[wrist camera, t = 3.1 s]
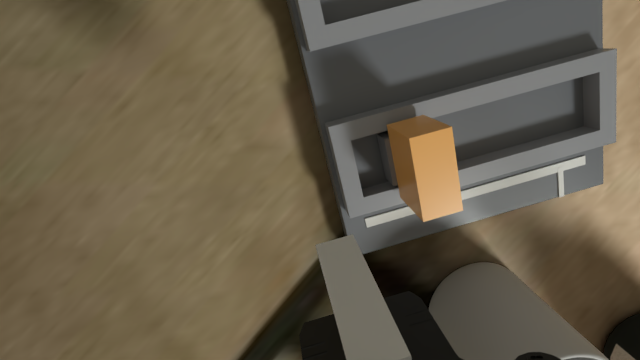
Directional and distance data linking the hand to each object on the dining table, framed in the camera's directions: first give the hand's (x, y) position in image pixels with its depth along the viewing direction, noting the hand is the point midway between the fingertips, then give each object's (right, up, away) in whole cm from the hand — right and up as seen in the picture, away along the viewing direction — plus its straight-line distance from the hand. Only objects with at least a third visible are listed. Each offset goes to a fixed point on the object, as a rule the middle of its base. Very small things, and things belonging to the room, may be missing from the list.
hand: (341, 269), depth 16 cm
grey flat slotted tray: (+8, +13, +12) cm, 19 cm away
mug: (+11, -8, +20) cm, 25 cm away
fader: (+5, +5, +12) cm, 14 cm away
